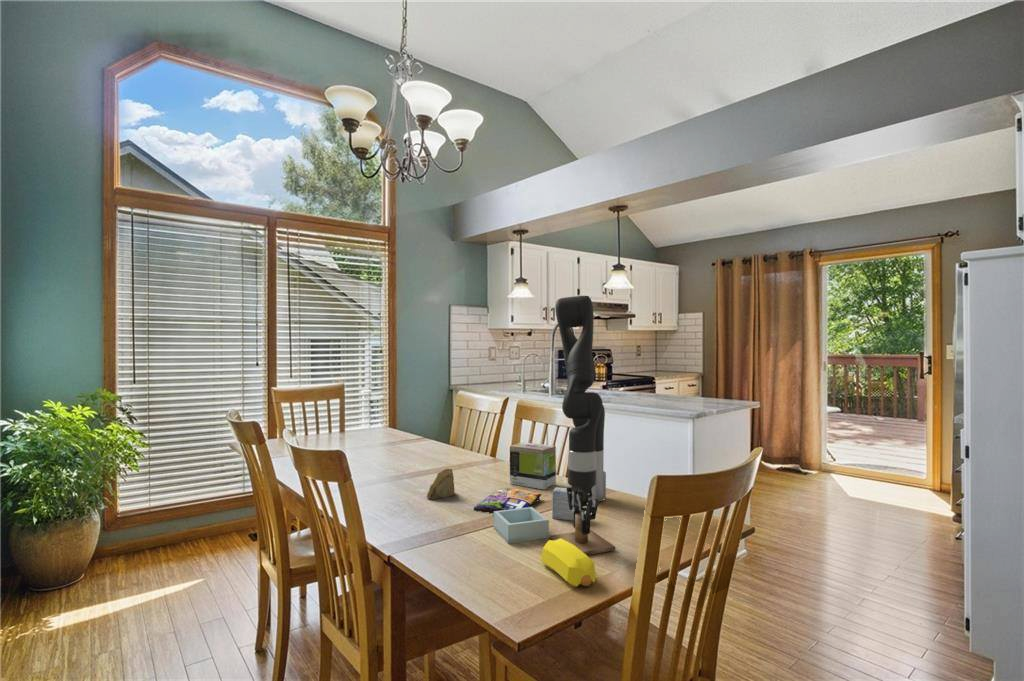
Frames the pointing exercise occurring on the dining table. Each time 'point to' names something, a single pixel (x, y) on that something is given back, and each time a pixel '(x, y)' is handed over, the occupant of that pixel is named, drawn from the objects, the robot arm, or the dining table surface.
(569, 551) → the yellow faceted long part
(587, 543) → the lid
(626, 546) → the dining table surface
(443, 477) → the rock
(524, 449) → the tea box
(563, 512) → the medicine box
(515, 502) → the food package
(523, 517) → the dish
